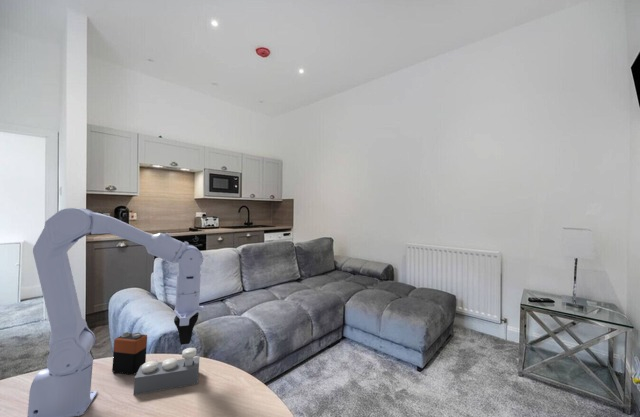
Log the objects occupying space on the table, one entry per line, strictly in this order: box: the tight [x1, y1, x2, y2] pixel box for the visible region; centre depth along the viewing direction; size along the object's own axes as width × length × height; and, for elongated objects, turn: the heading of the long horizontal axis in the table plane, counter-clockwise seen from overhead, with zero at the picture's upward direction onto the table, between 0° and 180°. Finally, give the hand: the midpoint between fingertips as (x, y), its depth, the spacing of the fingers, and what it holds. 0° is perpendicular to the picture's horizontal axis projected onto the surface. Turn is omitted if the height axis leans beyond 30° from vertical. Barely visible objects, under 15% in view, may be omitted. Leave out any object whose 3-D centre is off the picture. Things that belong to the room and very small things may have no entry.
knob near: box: [142, 360, 159, 373], centre depth 68 cm, size 3×3×5 cm
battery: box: [111, 331, 148, 376], centre depth 74 cm, size 4×7×10 cm, turn 83°
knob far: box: [181, 347, 197, 367], centre depth 71 cm, size 3×3×5 cm
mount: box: [132, 356, 200, 396], centre depth 69 cm, size 14×6×4 cm, turn 112°
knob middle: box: [162, 357, 178, 370], centre depth 69 cm, size 3×3×5 cm
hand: (185, 343), depth 71 cm, fingers closed
